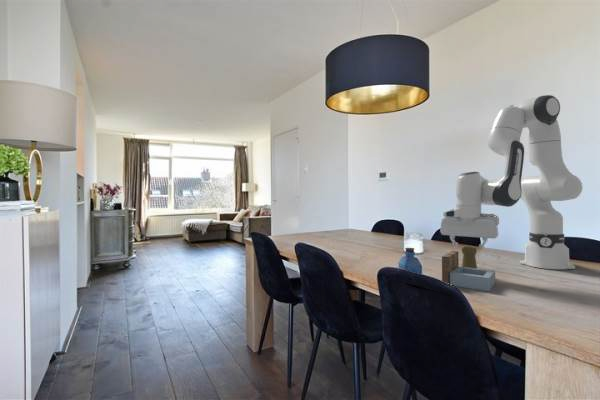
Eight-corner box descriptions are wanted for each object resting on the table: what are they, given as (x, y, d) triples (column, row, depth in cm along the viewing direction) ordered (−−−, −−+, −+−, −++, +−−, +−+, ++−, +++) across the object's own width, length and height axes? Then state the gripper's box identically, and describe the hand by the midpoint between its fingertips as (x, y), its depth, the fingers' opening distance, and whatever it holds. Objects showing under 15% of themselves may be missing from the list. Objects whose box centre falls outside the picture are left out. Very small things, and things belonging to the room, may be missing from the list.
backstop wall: (452, 276, 124) (452, 250, 124) (458, 277, 123) (458, 251, 123) (442, 284, 113) (441, 256, 113) (448, 285, 112) (447, 257, 112)
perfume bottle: (398, 278, 122) (398, 247, 122) (414, 278, 123) (414, 246, 123) (405, 283, 116) (405, 250, 116) (422, 282, 117) (421, 249, 116)
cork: (480, 276, 124) (480, 247, 124) (463, 275, 125) (463, 247, 125) (475, 272, 130) (474, 245, 130) (458, 271, 131) (458, 244, 131)
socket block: (458, 278, 122) (458, 266, 122) (495, 283, 114) (495, 270, 114) (449, 285, 113) (449, 272, 112) (489, 291, 105) (488, 277, 105)
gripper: (500, 213, 123) (499, 249, 123) (443, 211, 136) (443, 244, 136) (497, 214, 118) (497, 252, 118) (439, 212, 131) (438, 246, 131)
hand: (468, 248), depth 127 cm, fingers open, 8 cm apart
